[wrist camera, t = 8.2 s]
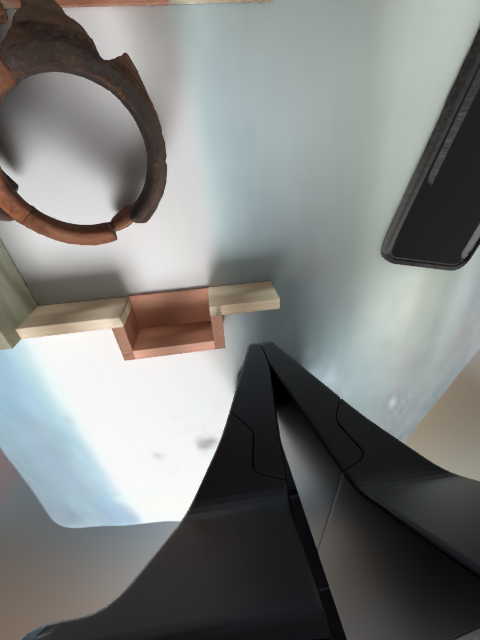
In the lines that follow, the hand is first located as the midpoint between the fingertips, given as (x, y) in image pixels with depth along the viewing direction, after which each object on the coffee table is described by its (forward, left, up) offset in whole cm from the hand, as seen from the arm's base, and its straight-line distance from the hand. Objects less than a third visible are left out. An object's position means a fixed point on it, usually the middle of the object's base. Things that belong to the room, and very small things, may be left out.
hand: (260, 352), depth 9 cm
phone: (-17, -4, -12) cm, 22 cm away
